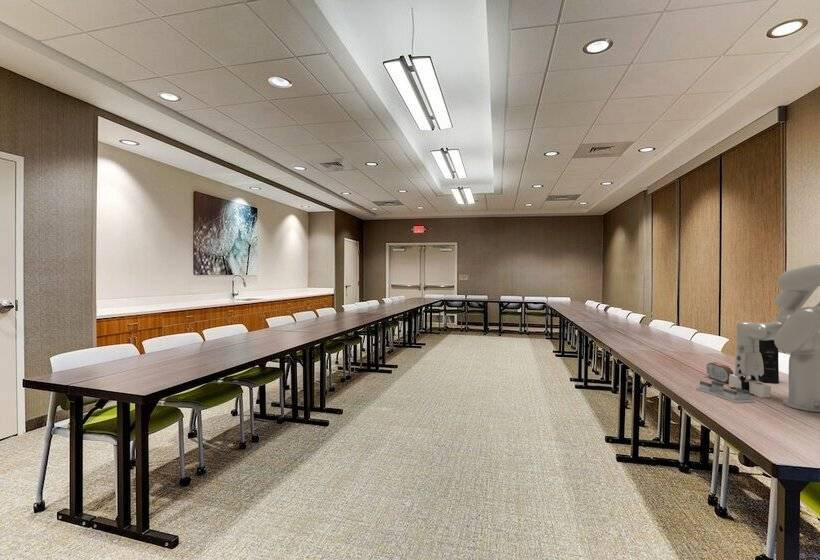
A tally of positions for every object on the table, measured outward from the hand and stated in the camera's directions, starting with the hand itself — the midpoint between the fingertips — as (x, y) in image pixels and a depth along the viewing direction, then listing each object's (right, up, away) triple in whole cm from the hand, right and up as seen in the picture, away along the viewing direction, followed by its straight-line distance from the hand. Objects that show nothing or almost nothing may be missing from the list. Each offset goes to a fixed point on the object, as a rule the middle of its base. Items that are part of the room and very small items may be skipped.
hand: (749, 389), depth 176 cm
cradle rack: (-15, -1, -4) cm, 15 cm away
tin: (+3, -1, +20) cm, 21 cm away
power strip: (0, -1, 0) cm, 1 cm away
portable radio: (+24, -1, +18) cm, 30 cm away
